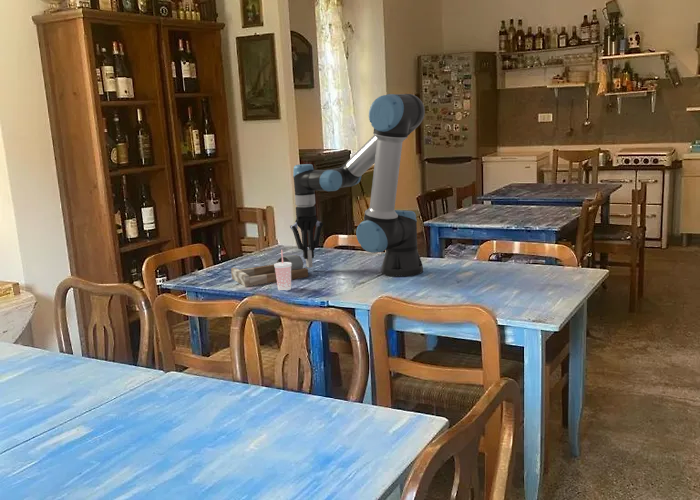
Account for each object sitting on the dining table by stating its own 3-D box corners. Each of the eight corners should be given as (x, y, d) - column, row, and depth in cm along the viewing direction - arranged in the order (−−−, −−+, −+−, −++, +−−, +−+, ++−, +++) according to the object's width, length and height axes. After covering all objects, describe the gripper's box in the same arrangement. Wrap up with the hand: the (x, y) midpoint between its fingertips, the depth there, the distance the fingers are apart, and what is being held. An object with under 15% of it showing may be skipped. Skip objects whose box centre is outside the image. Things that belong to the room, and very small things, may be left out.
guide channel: (308, 276, 264) (307, 266, 264) (245, 286, 254) (244, 275, 253) (292, 269, 279) (291, 259, 278) (232, 278, 268) (231, 268, 268)
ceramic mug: (305, 273, 270) (304, 253, 269) (292, 277, 263) (290, 257, 262) (283, 271, 276) (281, 252, 275) (270, 275, 269) (268, 255, 268)
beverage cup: (290, 291, 244) (287, 251, 242) (273, 291, 246) (270, 251, 243) (295, 286, 250) (292, 247, 248) (278, 286, 251) (275, 247, 249)
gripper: (317, 202, 275) (321, 262, 279) (285, 206, 269) (289, 267, 274) (325, 204, 268) (328, 266, 273) (293, 208, 263) (297, 271, 267)
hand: (309, 266), depth 273 cm, fingers closed
